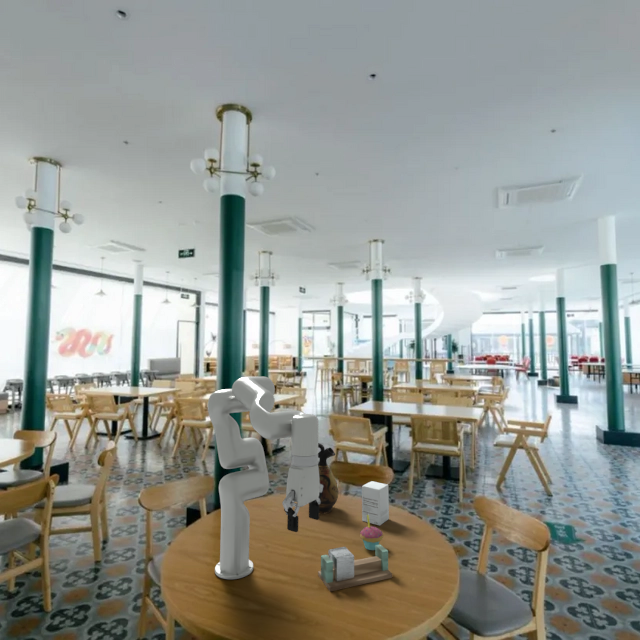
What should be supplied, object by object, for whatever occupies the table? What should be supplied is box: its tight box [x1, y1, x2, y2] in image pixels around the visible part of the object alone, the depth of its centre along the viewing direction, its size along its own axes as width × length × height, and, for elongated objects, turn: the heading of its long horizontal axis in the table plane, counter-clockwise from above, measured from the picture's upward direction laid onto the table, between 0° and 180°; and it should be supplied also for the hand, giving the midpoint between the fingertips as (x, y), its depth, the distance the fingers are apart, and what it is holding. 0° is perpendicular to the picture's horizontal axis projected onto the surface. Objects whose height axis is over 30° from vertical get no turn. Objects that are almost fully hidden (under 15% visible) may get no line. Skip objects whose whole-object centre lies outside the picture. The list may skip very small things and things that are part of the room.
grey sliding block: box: [327, 546, 355, 582], centre depth 133 cm, size 7×6×7 cm
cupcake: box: [359, 513, 384, 551], centre depth 155 cm, size 9×8×12 cm
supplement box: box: [361, 480, 390, 526], centre depth 181 cm, size 9×9×15 cm
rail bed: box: [317, 543, 393, 592], centre depth 135 cm, size 10×22×7 cm, turn 112°
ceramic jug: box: [310, 442, 339, 515], centre depth 193 cm, size 17×15×30 cm
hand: (303, 524), depth 112 cm, fingers open, 9 cm apart
